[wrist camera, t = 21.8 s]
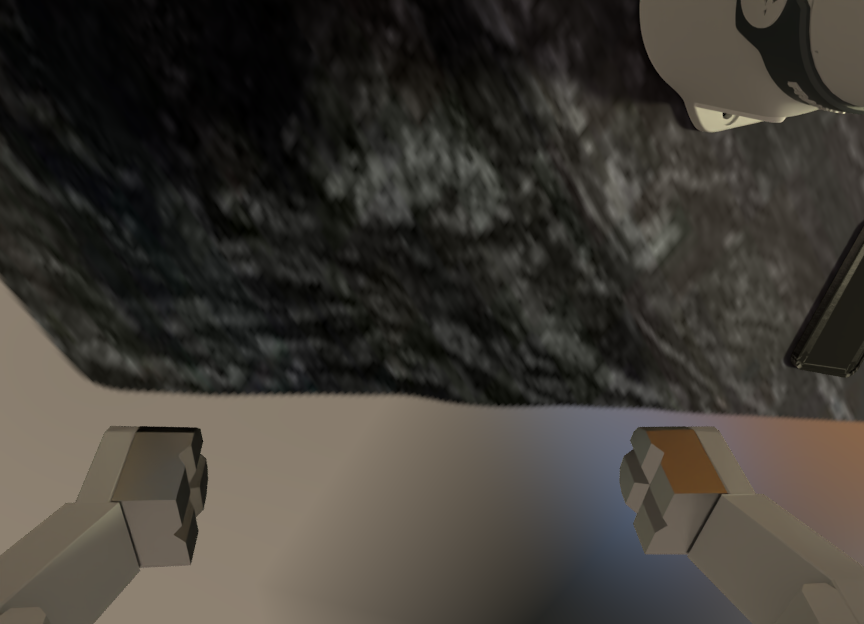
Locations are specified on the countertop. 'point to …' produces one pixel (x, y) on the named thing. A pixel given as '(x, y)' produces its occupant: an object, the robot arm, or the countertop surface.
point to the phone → (837, 322)
